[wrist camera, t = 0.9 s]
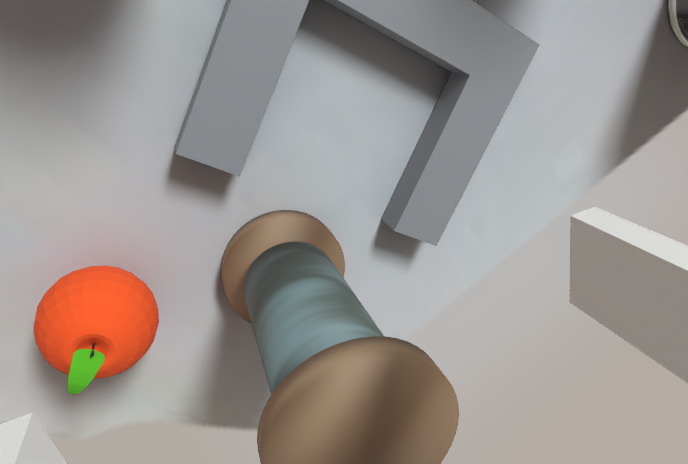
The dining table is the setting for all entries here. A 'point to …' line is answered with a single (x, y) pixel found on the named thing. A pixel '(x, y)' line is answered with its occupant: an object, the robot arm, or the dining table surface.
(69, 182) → the dining table surface
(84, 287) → the clementine
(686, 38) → the coffee can
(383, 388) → the bobbin
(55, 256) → the dining table surface
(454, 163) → the notched board
